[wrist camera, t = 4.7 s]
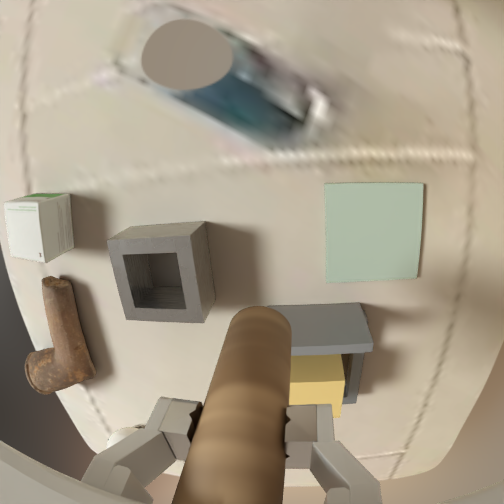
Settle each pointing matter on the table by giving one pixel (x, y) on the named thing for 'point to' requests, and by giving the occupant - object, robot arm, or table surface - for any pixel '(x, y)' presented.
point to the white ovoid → (120, 435)
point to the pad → (372, 231)
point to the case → (331, 336)
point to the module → (317, 381)
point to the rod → (243, 417)
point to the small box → (39, 226)
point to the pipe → (60, 343)
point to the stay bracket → (140, 281)
